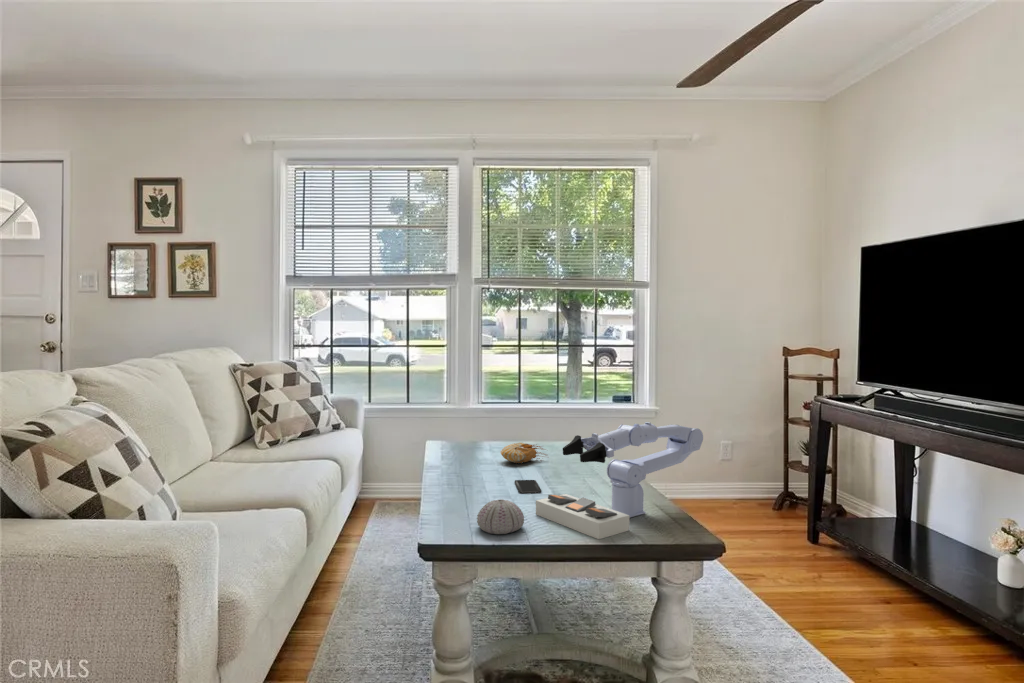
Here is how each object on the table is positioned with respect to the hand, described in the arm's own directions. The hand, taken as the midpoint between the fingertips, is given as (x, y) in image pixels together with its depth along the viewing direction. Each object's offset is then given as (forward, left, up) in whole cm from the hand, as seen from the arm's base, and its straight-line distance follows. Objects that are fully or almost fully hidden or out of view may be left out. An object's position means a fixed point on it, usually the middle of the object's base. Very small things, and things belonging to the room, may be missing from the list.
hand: (572, 454), depth 166 cm
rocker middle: (-4, 0, -16) cm, 16 cm away
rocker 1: (-4, -8, -16) cm, 18 cm away
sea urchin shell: (+18, -10, -20) cm, 29 cm away
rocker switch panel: (-4, 0, -20) cm, 20 cm away
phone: (-15, -38, -21) cm, 46 cm away
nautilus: (-39, -70, -20) cm, 83 cm away
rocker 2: (-4, +7, -16) cm, 18 cm away
